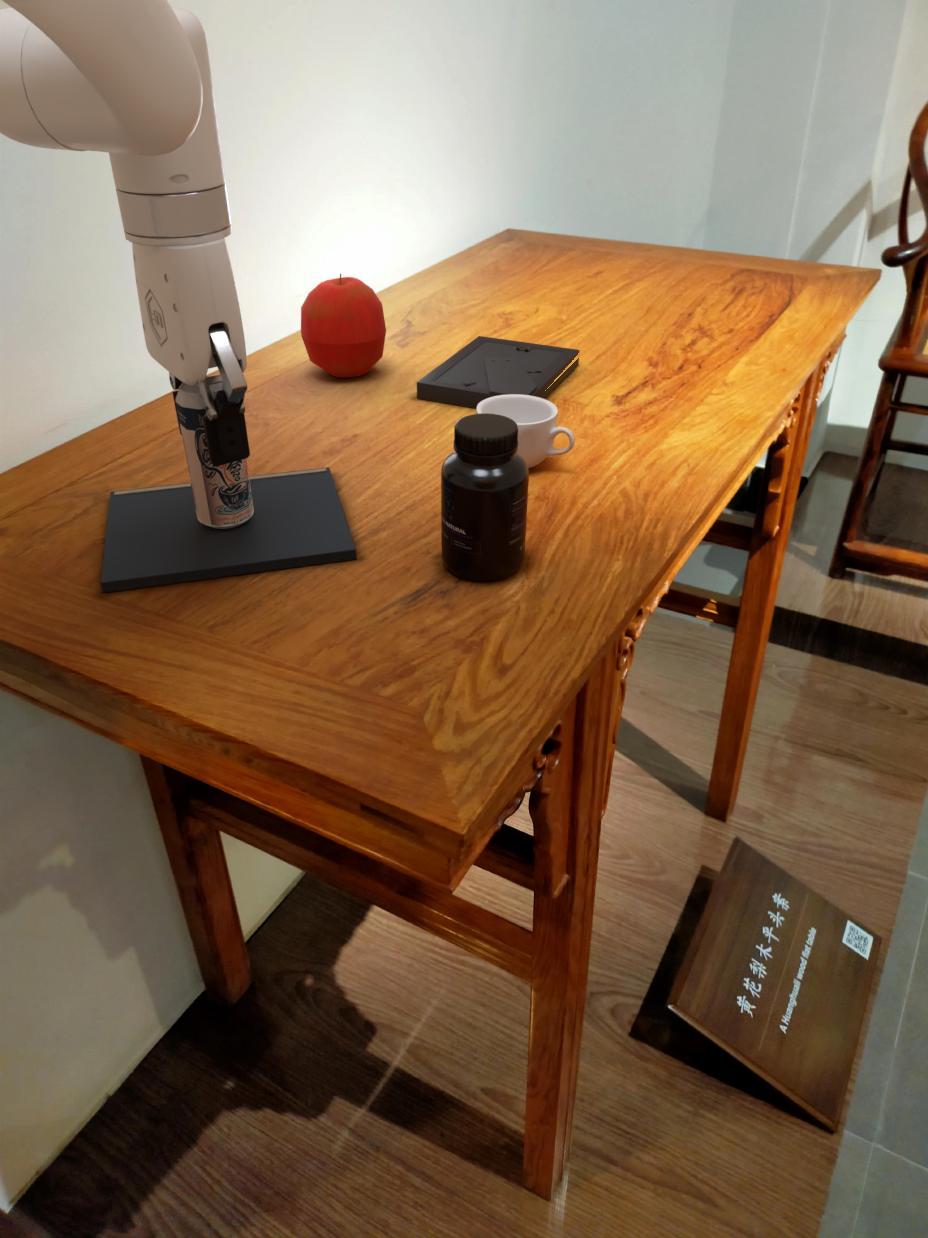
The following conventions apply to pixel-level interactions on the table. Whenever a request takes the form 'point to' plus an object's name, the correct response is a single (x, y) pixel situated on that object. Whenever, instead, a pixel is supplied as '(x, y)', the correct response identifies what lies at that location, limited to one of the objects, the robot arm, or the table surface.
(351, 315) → the apple
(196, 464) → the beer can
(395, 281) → the table surface
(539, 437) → the teacup
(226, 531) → the dark grey flat slab
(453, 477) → the supplement bottle
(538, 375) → the picture frame
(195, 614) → the table surface
